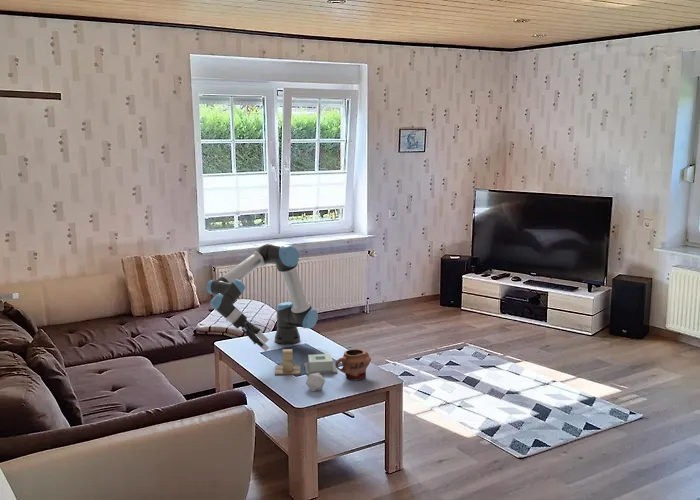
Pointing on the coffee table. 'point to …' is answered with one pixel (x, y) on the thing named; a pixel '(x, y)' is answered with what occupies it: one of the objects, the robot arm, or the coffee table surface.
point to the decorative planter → (354, 364)
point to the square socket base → (320, 364)
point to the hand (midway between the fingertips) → (267, 345)
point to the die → (315, 382)
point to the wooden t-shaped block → (287, 364)
